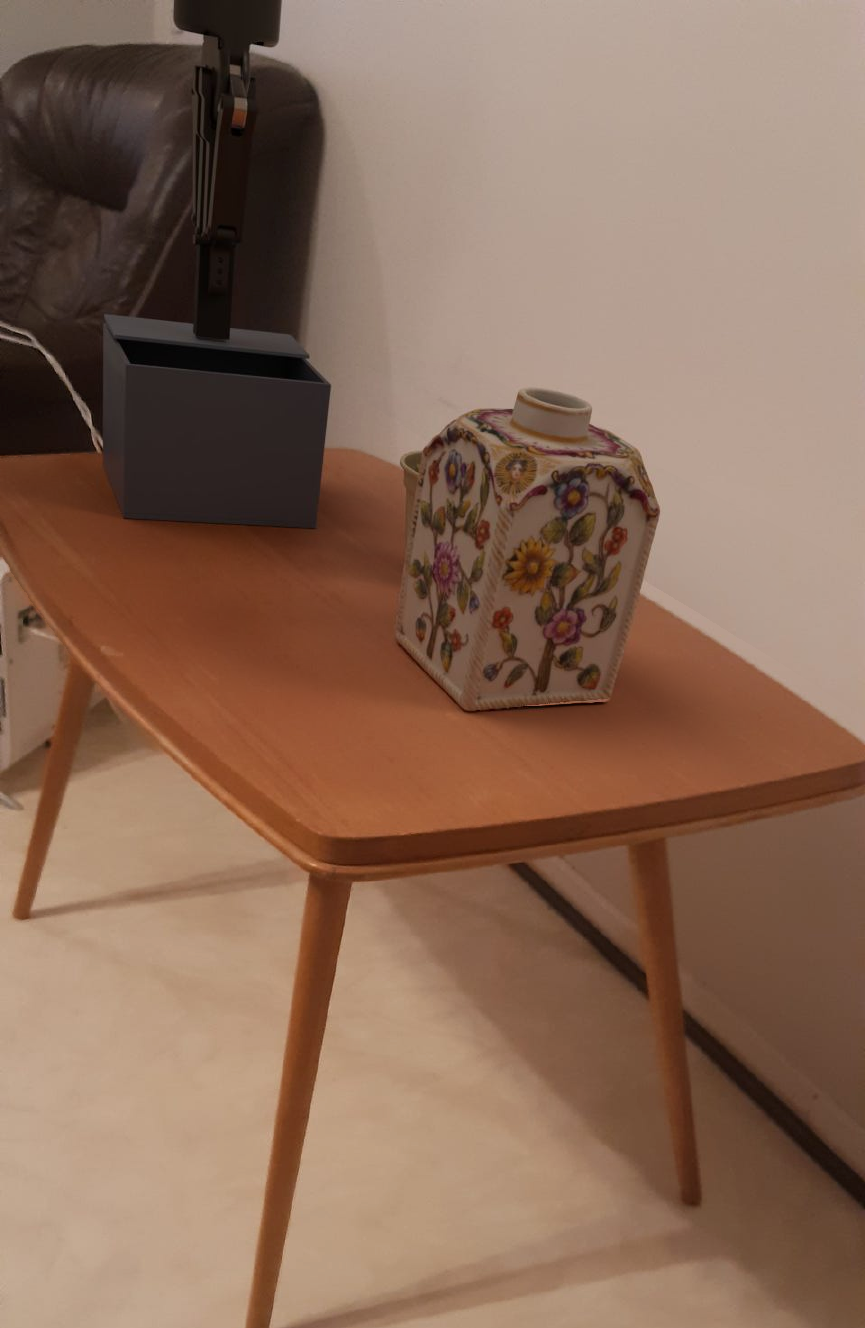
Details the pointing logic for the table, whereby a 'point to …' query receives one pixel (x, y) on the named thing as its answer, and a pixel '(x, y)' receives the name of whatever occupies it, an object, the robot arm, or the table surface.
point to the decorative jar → (525, 554)
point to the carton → (212, 434)
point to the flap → (185, 337)
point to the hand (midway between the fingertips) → (211, 335)
